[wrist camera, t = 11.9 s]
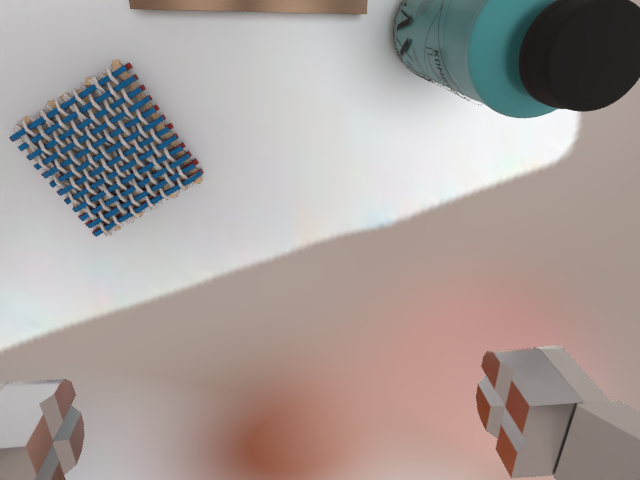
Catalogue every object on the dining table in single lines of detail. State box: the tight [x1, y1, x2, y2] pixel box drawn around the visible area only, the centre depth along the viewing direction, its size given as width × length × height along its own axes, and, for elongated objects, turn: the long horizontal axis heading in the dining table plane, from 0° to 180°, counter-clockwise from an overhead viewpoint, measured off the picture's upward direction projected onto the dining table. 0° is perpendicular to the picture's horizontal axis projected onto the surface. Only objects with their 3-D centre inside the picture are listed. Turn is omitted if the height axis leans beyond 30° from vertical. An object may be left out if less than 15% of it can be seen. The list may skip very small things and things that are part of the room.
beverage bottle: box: [393, 0, 640, 118], centre depth 26 cm, size 6×7×20 cm
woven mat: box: [10, 60, 204, 237], centre depth 36 cm, size 10×11×2 cm
